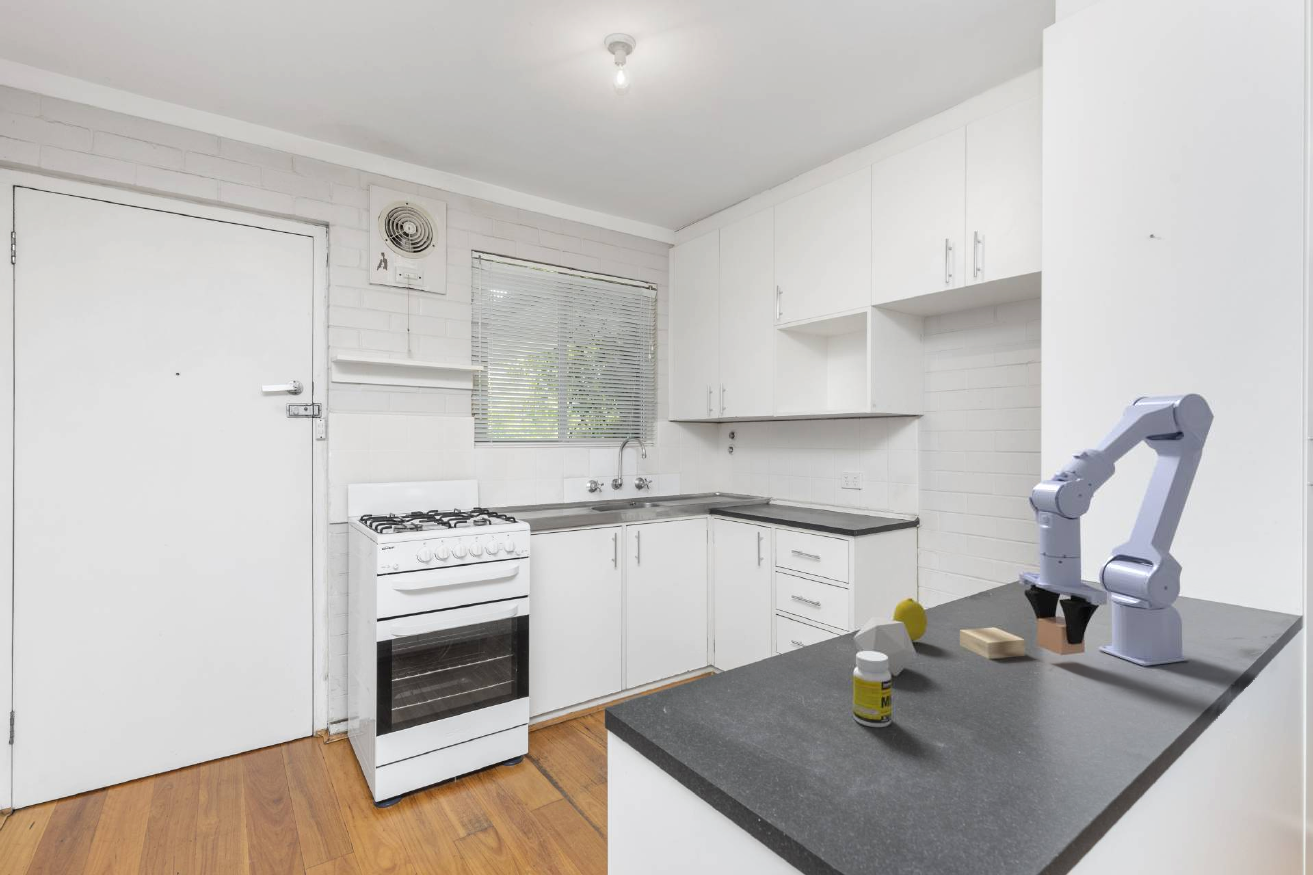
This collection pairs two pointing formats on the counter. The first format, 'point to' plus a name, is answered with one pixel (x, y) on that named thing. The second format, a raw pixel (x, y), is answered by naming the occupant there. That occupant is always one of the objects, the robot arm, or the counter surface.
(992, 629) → the oak block
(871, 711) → the supplement bottle
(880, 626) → the die
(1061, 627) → the terracotta cube
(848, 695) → the counter surface
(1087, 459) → the robot arm
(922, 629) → the lemon
